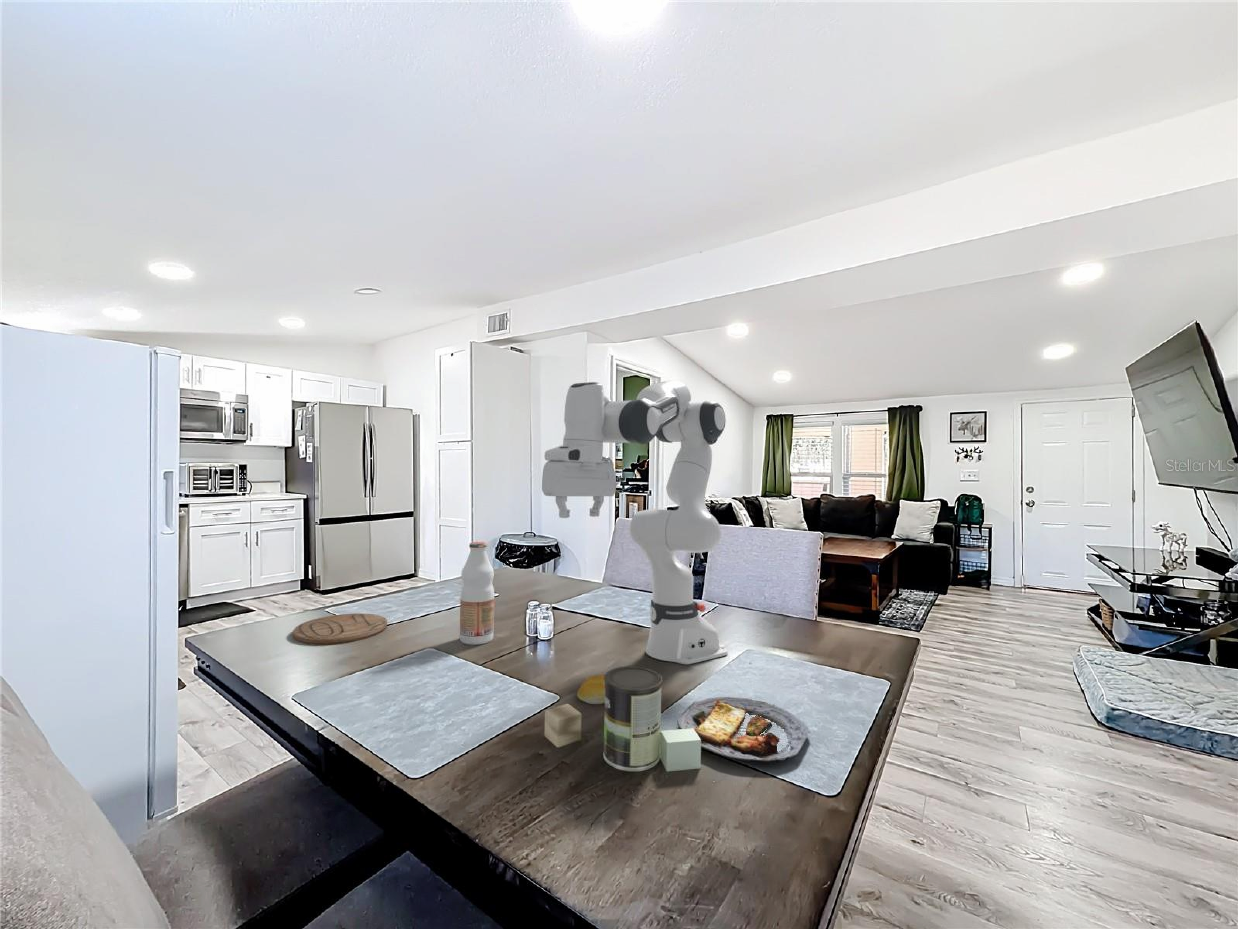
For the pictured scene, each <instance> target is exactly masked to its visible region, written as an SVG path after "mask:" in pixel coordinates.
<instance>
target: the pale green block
mask: <svg viewBox="0 0 1238 929" xmlns="http://www.w3.org/2000/svg"><path fill="white" fill-rule="evenodd" d="M701 753H702V748H701V739H700V737H699V736H698V734H697V733H696V731H695V730H694V728H691V729H679V728H678V729H667V730H660V761H661V763H662V764H663V767H664V768H665V771H666V772H675V771H687V770H695V769H696V770H697V769H701V765H702V764H701V759H702V758H701V757H702V756H701V755H702V754H701Z"/></svg>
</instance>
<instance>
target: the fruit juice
mask: <svg viewBox="0 0 1238 929" xmlns="http://www.w3.org/2000/svg"><path fill="white" fill-rule="evenodd" d="M468 547H469V549H470V550H469V553H468V556H467V559H466V561H465V564H464V566H463V568H462V570H461V573H460V574H461V575H460V576H461V580H462V587H461V589H460V596H459V597H460V603H459V604H460V607H459V613H460V614H459V640H460V642H461V643H463V644H464V645H470V646H471V645H473V646H474V645H483V644H487V643H489V642H491V641H492V640H493V639H494V631H495V630H494V628H495V626H494V625H495V624H494V623H495V622H494V621H495V618H494V616H495V588H494V585H493V580H494V575H495V571H494V568H493V566H492V565H491V562H490V559H489V555H488V553H487V547H488V543H487V542H485V541H472V542H469V546H468Z"/></svg>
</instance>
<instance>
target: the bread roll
mask: <svg viewBox="0 0 1238 929" xmlns="http://www.w3.org/2000/svg"><path fill="white" fill-rule="evenodd" d="M604 677H605V675H599V674H595V675H592V676H589V677H587V678H586V679H584V681H582V683H581V685H580V687H579V688H578V690H577V693H576V694H577V698H578V699H579V700H580V701H582V702H584V703H585V704H589V705H602V704H605V680H604Z"/></svg>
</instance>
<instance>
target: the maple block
mask: <svg viewBox="0 0 1238 929" xmlns="http://www.w3.org/2000/svg"><path fill="white" fill-rule="evenodd" d="M544 737H545V738H546V739H547V740H548V741H549V742H551V743H552V744H553V745H554V746H555V747H556V748H561V747H563V746H566V745H570V744H572V743H576V742H577V741H581V740H582V713H581V712H580V711H579V710H577V709H576V708H575V707H573V706H572V705H570V704H569V703H565V704H562V705H558V706H555V707H551V708H548V709H545V710H544Z"/></svg>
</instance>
